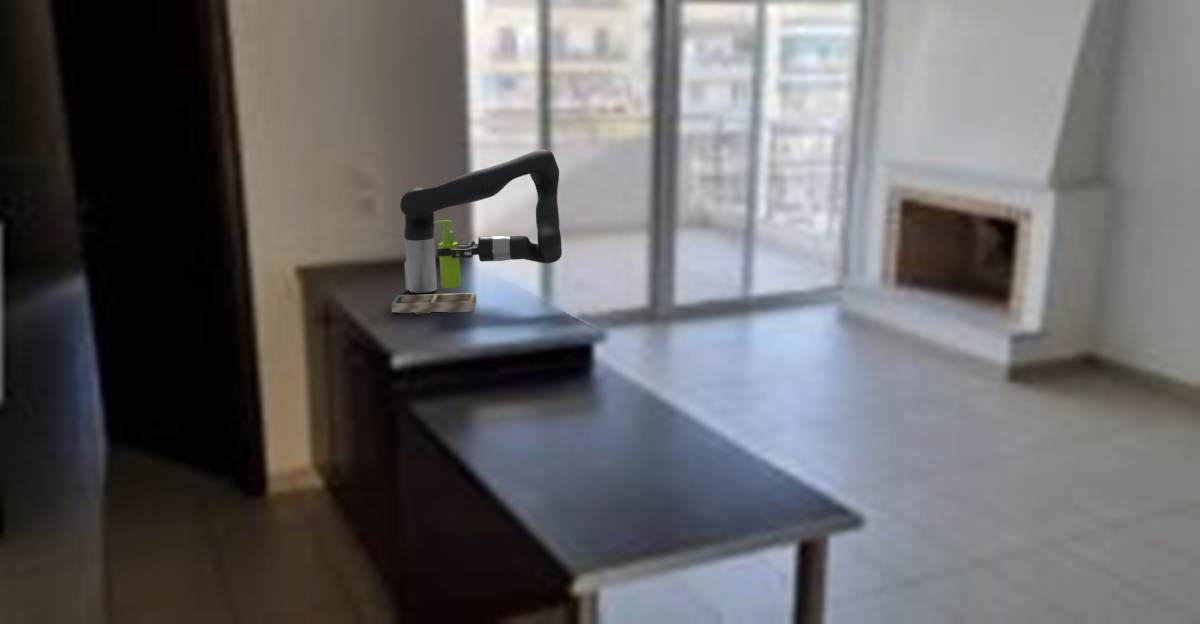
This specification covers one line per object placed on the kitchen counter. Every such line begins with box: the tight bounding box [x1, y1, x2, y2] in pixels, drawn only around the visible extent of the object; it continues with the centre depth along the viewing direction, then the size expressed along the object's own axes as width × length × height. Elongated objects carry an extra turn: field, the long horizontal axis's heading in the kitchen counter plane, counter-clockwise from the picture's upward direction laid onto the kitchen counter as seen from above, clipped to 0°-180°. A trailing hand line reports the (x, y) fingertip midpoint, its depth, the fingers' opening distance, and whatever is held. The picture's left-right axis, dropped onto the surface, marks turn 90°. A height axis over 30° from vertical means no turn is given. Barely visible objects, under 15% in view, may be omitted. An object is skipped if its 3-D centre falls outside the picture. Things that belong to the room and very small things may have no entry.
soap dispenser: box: [434, 219, 462, 289], centre depth 312 cm, size 6×7×20 cm
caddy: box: [390, 292, 477, 314], centre depth 315 cm, size 24×12×3 cm, turn 92°
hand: (438, 250), depth 311 cm, fingers closed on soap dispenser, 6 cm apart
